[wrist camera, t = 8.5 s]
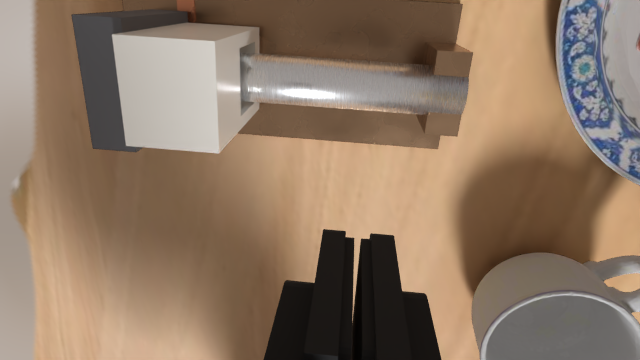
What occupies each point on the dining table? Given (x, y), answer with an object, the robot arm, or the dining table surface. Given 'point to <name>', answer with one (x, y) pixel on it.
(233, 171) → the dining table surface
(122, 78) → the sleeve
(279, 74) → the linear slide
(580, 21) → the ceramic plate
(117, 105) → the dark grey notched block
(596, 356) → the teacup
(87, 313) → the dining table surface
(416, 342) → the robot arm
